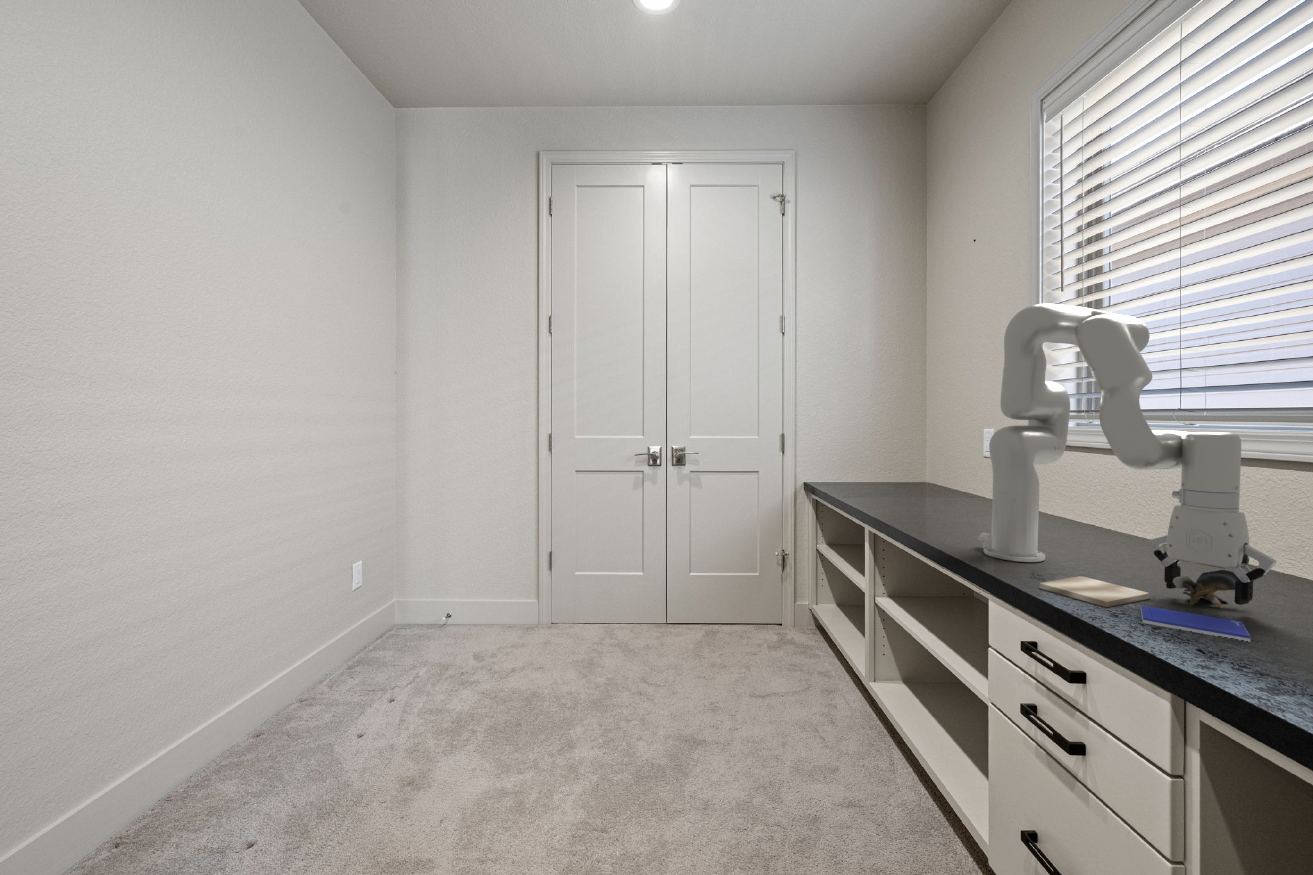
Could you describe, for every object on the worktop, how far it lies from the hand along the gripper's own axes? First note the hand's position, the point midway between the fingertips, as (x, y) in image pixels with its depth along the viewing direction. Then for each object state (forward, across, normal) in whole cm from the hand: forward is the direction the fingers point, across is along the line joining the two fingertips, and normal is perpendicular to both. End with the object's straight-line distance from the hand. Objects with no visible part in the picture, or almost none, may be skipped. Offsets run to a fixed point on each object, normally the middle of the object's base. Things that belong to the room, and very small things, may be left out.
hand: (1206, 595), depth 102 cm
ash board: (+2, -12, -11) cm, 17 cm away
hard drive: (+3, +4, -14) cm, 15 cm away
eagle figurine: (+2, 0, +2) cm, 3 cm away
